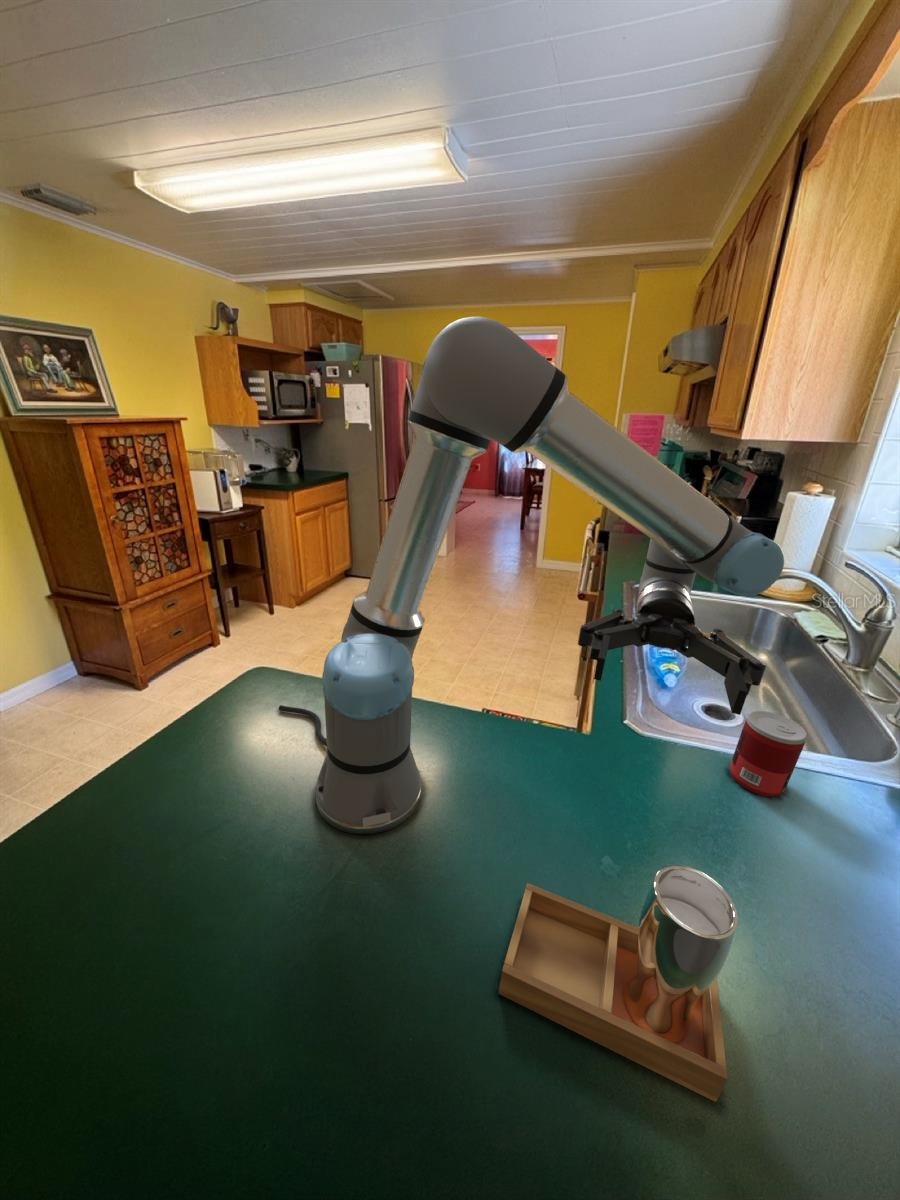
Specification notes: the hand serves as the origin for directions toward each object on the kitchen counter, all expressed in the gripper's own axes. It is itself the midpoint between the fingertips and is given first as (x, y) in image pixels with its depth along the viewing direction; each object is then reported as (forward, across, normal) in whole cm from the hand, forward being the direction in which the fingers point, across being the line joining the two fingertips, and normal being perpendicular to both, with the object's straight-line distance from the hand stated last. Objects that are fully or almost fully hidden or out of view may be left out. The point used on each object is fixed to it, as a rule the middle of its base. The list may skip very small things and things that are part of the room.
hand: (666, 685), depth 49 cm
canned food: (-28, -20, -28) cm, 45 cm away
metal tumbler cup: (+14, -5, -27) cm, 31 cm away
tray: (+14, 0, -28) cm, 31 cm away
